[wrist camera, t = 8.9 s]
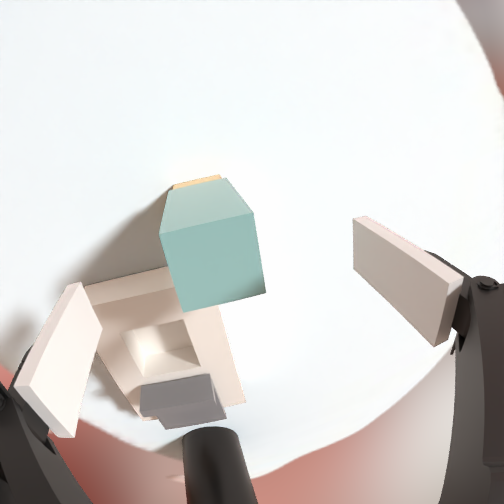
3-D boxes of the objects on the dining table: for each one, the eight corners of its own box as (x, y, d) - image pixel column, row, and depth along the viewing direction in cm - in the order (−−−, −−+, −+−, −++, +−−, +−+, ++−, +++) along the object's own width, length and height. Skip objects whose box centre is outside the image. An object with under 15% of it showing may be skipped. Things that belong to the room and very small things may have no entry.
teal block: (170, 182, 23) (158, 234, 13) (221, 171, 24) (253, 212, 13) (182, 230, 25) (183, 312, 14) (230, 219, 26) (266, 292, 15)
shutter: (140, 386, 26) (139, 411, 23) (209, 373, 27) (213, 399, 24) (165, 423, 29) (166, 446, 26) (225, 413, 30) (230, 436, 27)
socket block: (85, 285, 25) (74, 309, 21) (207, 256, 27) (211, 278, 23) (143, 395, 32) (143, 421, 28) (239, 376, 33) (246, 402, 30)
